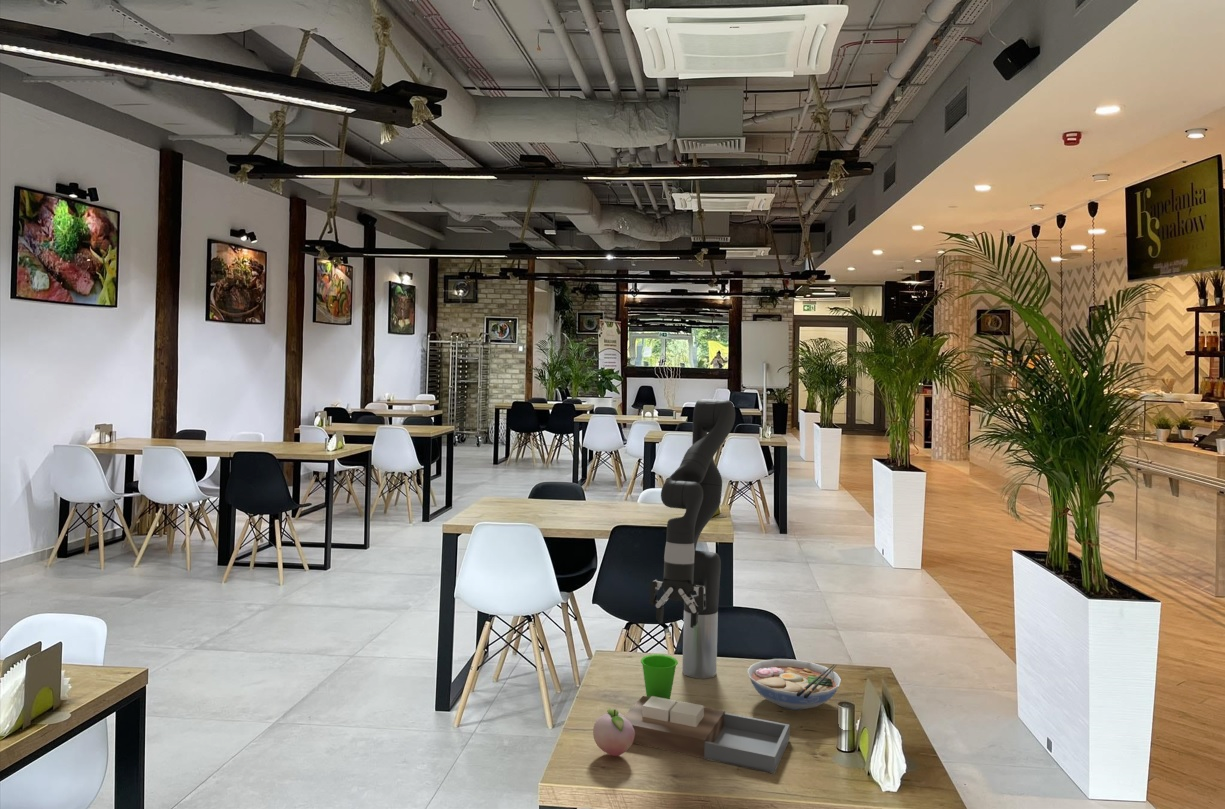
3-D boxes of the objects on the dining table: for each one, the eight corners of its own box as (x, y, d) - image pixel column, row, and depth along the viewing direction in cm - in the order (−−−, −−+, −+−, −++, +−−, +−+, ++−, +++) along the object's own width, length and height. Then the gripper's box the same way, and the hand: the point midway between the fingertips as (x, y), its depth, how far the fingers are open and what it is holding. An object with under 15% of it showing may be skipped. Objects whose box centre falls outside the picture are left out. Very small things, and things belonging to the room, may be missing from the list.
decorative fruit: (586, 750, 171) (587, 704, 171) (620, 743, 175) (621, 698, 174) (603, 770, 163) (604, 721, 163) (639, 763, 166) (640, 715, 166)
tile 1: (651, 706, 185) (651, 695, 185) (676, 711, 183) (676, 700, 183) (642, 716, 179) (642, 705, 179) (667, 721, 177) (668, 710, 177)
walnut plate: (642, 712, 191) (643, 695, 191) (724, 728, 184) (724, 710, 183) (617, 739, 177) (617, 722, 176) (704, 758, 169) (705, 739, 169)
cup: (633, 707, 194) (634, 663, 193) (649, 695, 202) (650, 652, 201) (667, 716, 189) (668, 670, 189) (682, 702, 197) (683, 658, 197)
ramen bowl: (769, 678, 215) (770, 648, 214) (854, 699, 202) (855, 667, 201) (728, 709, 194) (729, 676, 194) (819, 735, 181) (821, 699, 181)
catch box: (724, 727, 184) (724, 712, 184) (789, 740, 178) (789, 724, 178) (704, 758, 169) (704, 742, 168) (774, 773, 163) (774, 756, 163)
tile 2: (678, 711, 182) (678, 700, 182) (703, 716, 180) (704, 705, 180) (669, 722, 177) (670, 710, 177) (696, 727, 175) (696, 715, 175)
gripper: (710, 561, 202) (707, 625, 201) (657, 555, 207) (654, 618, 207) (702, 565, 195) (699, 632, 195) (647, 559, 200) (644, 624, 200)
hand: (676, 624), depth 201 cm, fingers open, 8 cm apart
